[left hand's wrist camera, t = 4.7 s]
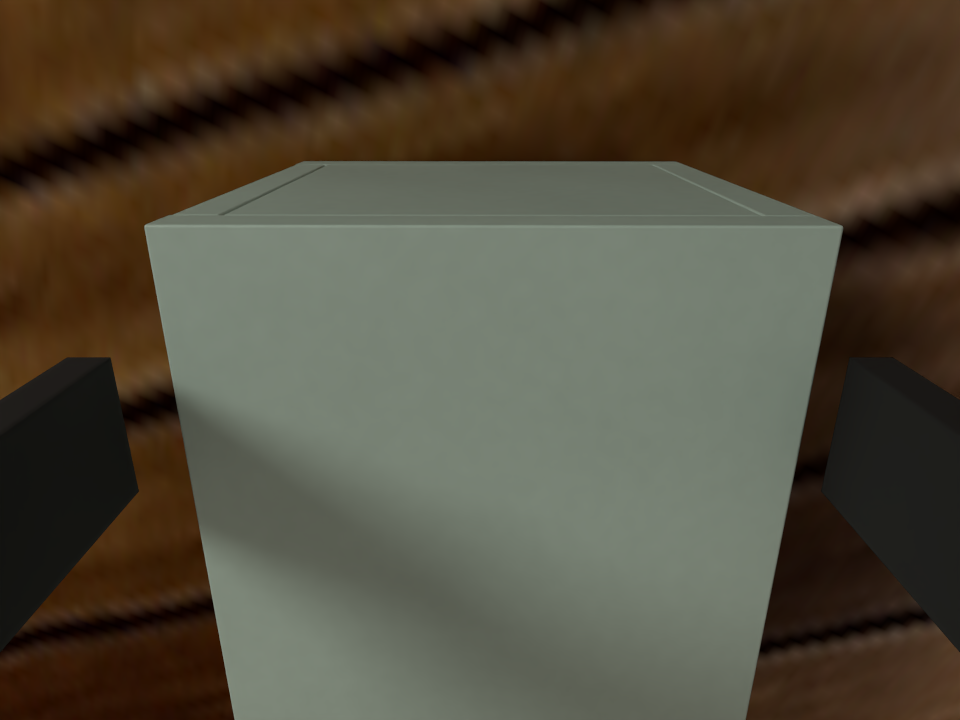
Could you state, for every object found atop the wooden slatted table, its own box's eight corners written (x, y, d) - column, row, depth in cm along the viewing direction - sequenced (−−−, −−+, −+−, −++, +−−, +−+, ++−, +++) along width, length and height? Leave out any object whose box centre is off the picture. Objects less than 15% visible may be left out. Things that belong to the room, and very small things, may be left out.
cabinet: (623, 678, 28) (694, 982, 19) (350, 676, 28) (281, 978, 19) (677, 161, 21) (844, 225, 11) (302, 161, 21) (142, 224, 11)
